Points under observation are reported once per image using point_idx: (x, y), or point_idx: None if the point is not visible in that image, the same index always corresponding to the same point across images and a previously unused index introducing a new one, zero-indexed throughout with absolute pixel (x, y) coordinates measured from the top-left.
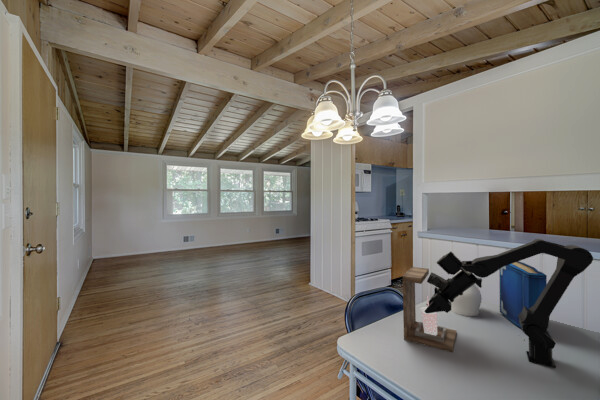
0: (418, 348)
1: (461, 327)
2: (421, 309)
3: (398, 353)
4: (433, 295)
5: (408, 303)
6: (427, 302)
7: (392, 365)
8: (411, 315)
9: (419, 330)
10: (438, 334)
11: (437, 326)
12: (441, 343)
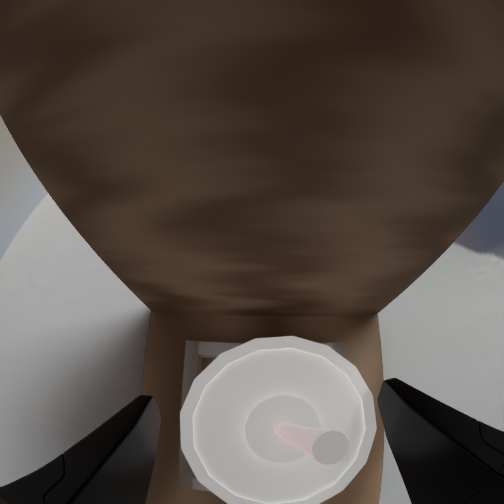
0: (106, 370)
1: None
2: (244, 355)
3: (55, 299)
4: (496, 456)
5: (145, 199)
6: (292, 427)
7: (9, 292)
8: (280, 285)
9: None
10: None
11: None
12: (172, 472)
